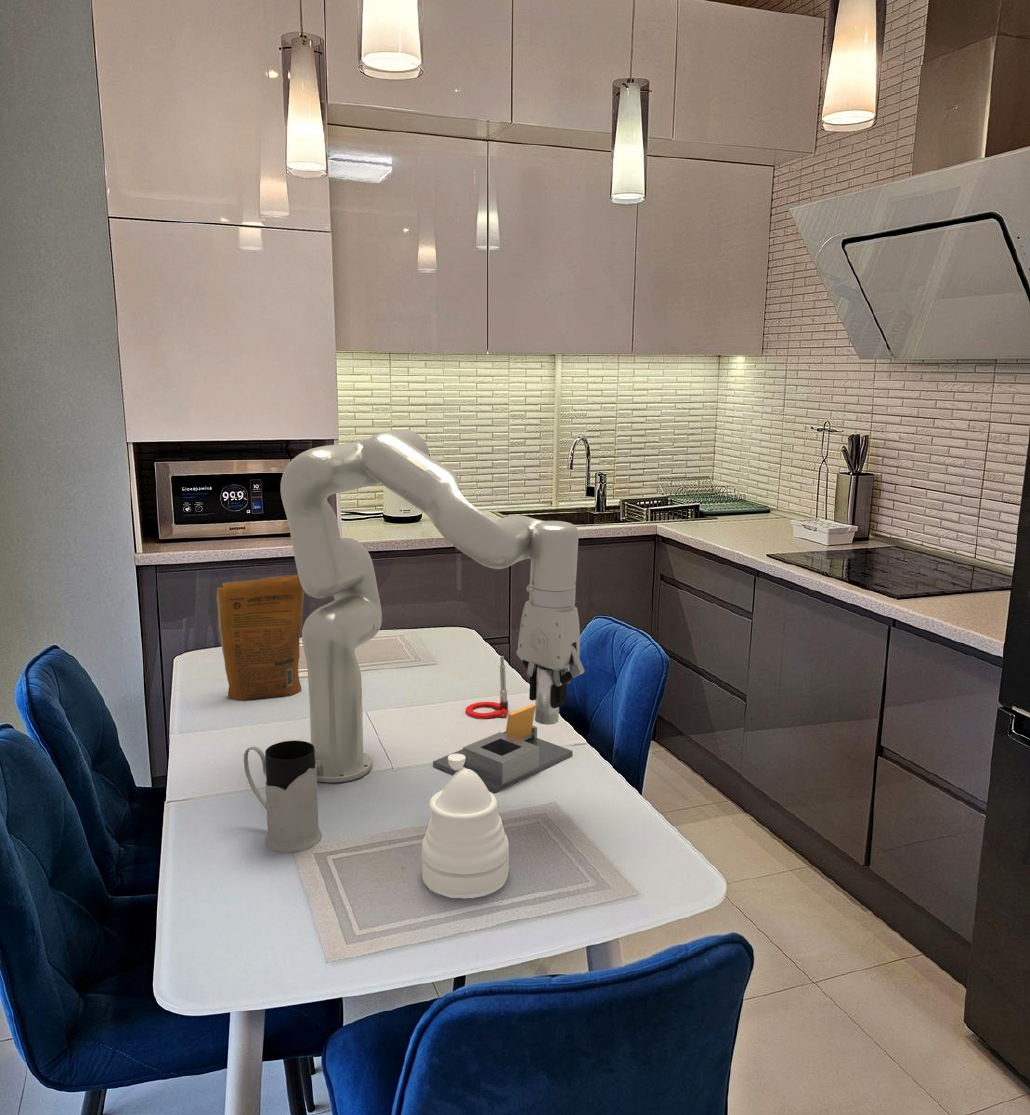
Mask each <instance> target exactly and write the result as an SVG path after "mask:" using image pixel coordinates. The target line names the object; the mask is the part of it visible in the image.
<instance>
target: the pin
mask: <svg viewBox="0 0 1030 1115" xmlns="http://www.w3.org/2000/svg"><path fill="white" fill-rule="evenodd" d="M552 685H555V681H554V672H553V669H550V668H546V667H543V666H540V665H537V680H536V700H535V704H534V705H535V712H534V721H535V722H536V723H537V724H540V725H547V726H548V725H555V724H557V723H558V722H559V719H560V718H559V715H560V707H558V708H555V709H554V708H552V707H551V688H552Z"/></svg>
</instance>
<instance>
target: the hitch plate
mask: <svg viewBox="0 0 1030 1115" xmlns="http://www.w3.org/2000/svg"><path fill="white" fill-rule="evenodd" d="M531 735H532V737H531V738H530V739H527V740H525V741H523V740H520V739H517V738H515V737H512V736H509V735H507V734H506V730H505V731H503V732H501V731H499V732H496V733H495V734H492V735H489V736H487V737H485V738H482V739H480V740H477V741H474V742H472V743H470V744H467V745H466V746H463V747H462V749H459V750H457V751H455V752H452V753H450V754H448V755H444V756H442V757H440V758H438V759H436V760H433V761H432V767H434V768H436V769H438V770H441V771H442V772H445V773H447V774H449V775H452V776H453V775H454V774H455V773H456V772H457V771H459V770H454V769H452V768H451V767H450V765H449V763H448V756H449V755H451V754H462V755H464V756H465V763H464V765H463V767H464V768H466V769H470V770H472V771H474V772H475V773H476V774H477V775H478V776H479V777H480V778H481V779H482V781H483V782H484V784H485V785H486V787H487V789H488V791H489V792H491V793H492V794H496V793H498V792H500V791H501V790H504V789H506V788H508V787H511V786H512V785H514V784H517V783H519V782H521V781H523V780H525V779H526V778H529V777H531V776H533V775H536V774H537V773H540V772H541V771H544V770H546V769H548V768H550V767H551V766H553V765H557V764H558V763H560V762H562V761H564V760H567V759H568V758H570V757H572V756H573V750H571V749H568V748H566V747H563V746H560V745H558V744H554V743H552V742H549V741H546V740H543V739H541V738H538V727H537V726H534V725H533V724H532V730H531Z"/></svg>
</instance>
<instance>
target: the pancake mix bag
mask: <svg viewBox="0 0 1030 1115" xmlns="http://www.w3.org/2000/svg"><path fill="white" fill-rule="evenodd" d="M221 585H222V587H217V588H216V605H217V620H218V621H217V624H218V625H217V626H218V632H219V639H220V644H221V648H222V649H221V650H222V655H223V656H222V657H223V660H224V661H223V662H224V668H225V669H224V670H225V673H226V677H227V678H226V679H227V683H228V692H227V696H226V697H227V698H228V699H230V700H234V701H243V702H244V701H253V700H261V699H270V698H278V697H290V696H294V695H296V694H298V693H300V692H301V691H302V688H303V687H302V685H301V681H300V676H299V674H300V673H299V661H300V636H301V633H302V626H303V625H302V624H303V623H302V622H303V603H304V596H305V595H304V594H305V591H304V590H303V588H302V586H301V584H300V580H299V577H298V574H293V575H292V574H291V575H289V574H288V575H279V576H271V577H263V578H257V579H256V578H255V579H251V580H237V581H229V582H228V581H227V582H222V584H221Z"/></svg>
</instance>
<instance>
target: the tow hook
mask: <svg viewBox="0 0 1030 1115" xmlns="http://www.w3.org/2000/svg"><path fill="white" fill-rule="evenodd" d="M499 662H500V665H499V681H500V682H499V683H500V691H499V695H500V696H499V699H500V700H499V702H495V701H479V702H475V703H471V704H469V705H468V706H467V707H465V714H466V716H468V717H470V718H474V719H482V720H483V719H492V718H493V719H494V718H496V717H500V718H502V719H505V718H506V717H507V715H508V712H509V711H508V710H509V699H508V690H507V680H506V678H507V677H506V665H505V657H504V655H501V656H500V661H499ZM480 708H493V709H495V710H493V711H489V712H477V711H474V710H477V709H480Z"/></svg>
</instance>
